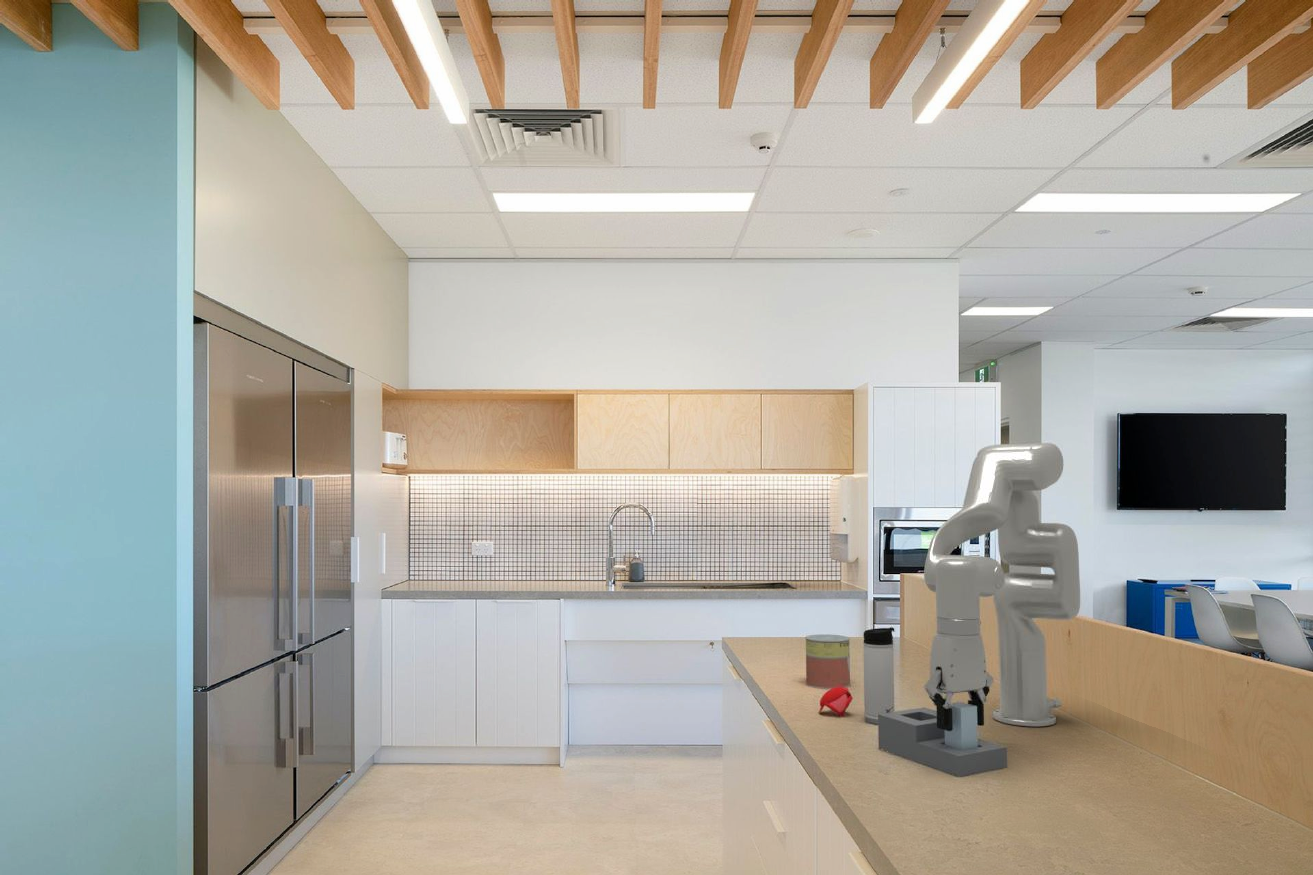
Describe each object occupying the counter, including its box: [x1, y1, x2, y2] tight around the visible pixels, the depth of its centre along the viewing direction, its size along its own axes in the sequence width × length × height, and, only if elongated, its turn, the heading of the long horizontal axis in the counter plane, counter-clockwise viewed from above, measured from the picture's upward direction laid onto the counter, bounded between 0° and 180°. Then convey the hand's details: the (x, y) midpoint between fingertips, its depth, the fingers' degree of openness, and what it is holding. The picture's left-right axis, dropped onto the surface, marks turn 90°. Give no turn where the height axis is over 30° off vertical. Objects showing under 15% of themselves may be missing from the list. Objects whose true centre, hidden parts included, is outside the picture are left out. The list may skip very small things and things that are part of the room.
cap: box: [818, 687, 853, 717], centre depth 201 cm, size 8×6×6 cm
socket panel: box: [877, 707, 1008, 778], centre depth 167 cm, size 12×20×6 cm, turn 28°
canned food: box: [805, 634, 851, 690], centre depth 233 cm, size 11×11×12 cm
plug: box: [945, 701, 979, 750], centre depth 163 cm, size 4×5×10 cm
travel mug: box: [862, 626, 896, 726], centre depth 195 cm, size 6×7×20 cm
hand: (960, 725), depth 163 cm, fingers open, 7 cm apart
